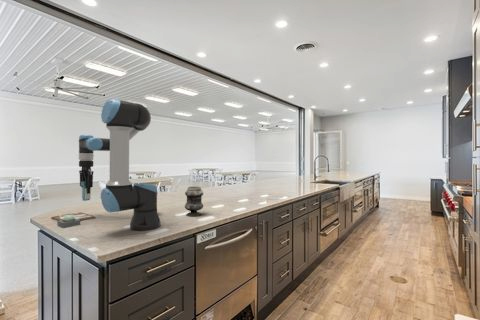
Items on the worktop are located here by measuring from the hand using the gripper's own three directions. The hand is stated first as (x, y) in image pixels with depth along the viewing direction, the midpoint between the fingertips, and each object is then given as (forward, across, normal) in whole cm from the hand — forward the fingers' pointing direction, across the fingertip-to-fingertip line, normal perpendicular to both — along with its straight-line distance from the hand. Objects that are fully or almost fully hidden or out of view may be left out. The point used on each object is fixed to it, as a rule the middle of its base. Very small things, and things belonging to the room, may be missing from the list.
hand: (86, 198), depth 150 cm
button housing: (+12, -10, +13) cm, 20 cm away
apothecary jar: (+12, -48, -44) cm, 66 cm away
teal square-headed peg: (+1, 0, 0) cm, 1 cm away
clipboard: (+12, +5, +5) cm, 14 cm away
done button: (+10, -10, +13) cm, 19 cm away
